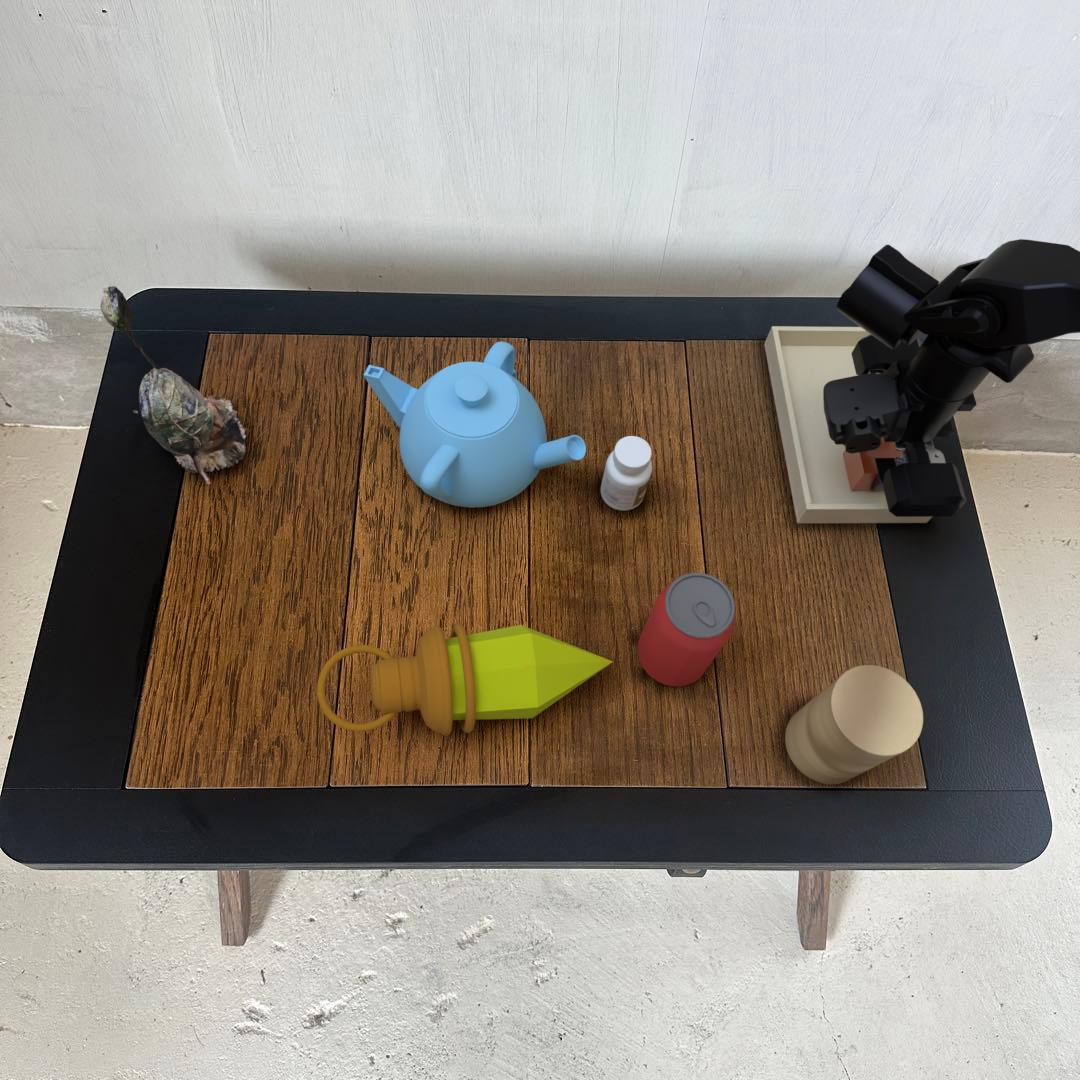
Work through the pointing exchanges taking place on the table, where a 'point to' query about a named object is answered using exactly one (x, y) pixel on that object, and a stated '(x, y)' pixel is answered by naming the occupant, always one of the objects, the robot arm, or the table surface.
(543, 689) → the plumb bob
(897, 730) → the pedestal
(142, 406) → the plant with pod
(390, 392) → the teapot
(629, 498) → the pill bottle
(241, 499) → the table surface
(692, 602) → the beer can
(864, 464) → the clay block
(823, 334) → the beige tray
